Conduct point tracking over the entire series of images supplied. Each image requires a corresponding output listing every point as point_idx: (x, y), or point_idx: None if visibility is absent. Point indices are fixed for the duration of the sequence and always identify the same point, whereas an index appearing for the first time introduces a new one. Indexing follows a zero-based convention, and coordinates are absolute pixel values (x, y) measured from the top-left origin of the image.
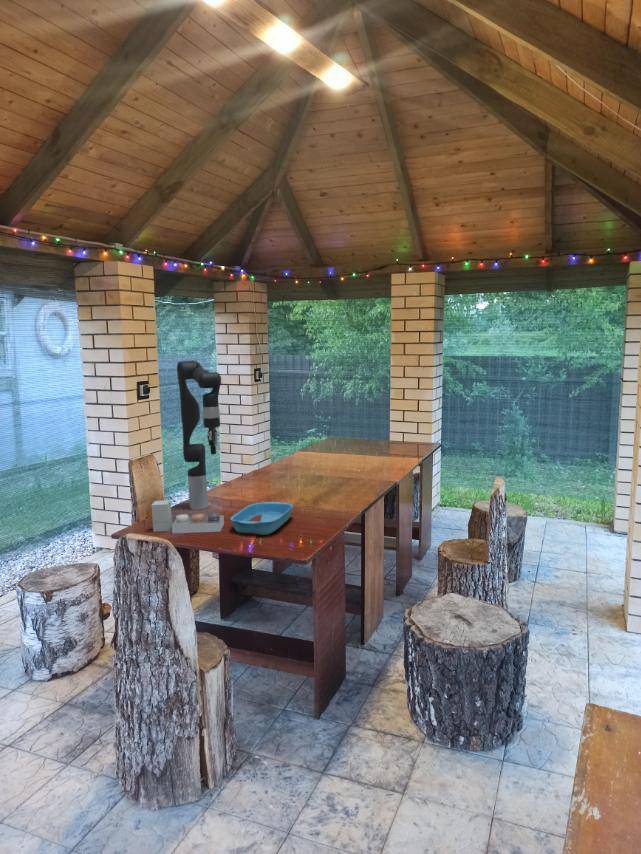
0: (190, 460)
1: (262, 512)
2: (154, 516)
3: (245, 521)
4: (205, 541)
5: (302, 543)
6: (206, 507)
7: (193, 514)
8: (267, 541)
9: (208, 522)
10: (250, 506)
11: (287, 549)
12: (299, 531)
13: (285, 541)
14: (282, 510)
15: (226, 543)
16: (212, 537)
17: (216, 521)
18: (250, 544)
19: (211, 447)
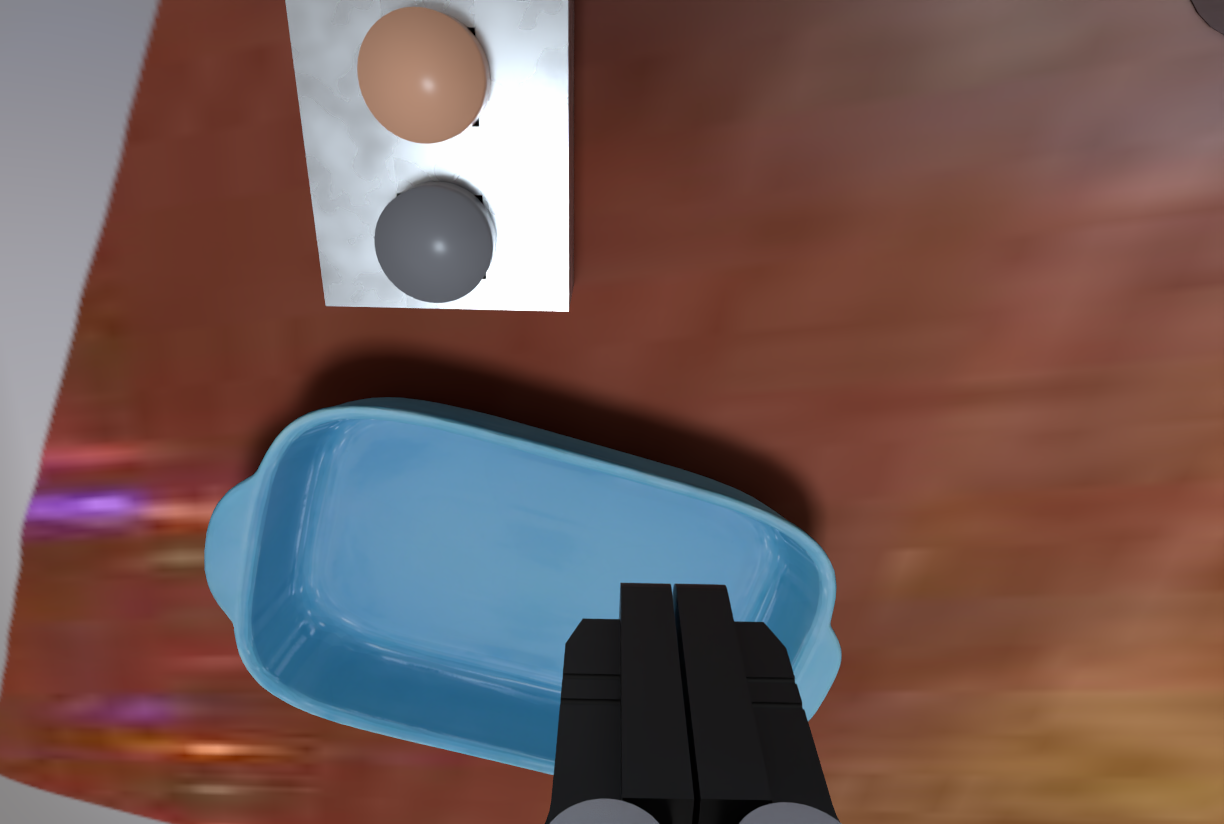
0: None
1: (782, 562)
2: None
3: (237, 529)
4: (162, 185)
5: (182, 755)
6: (1222, 31)
7: (446, 18)
8: (201, 594)
9: (333, 200)
10: (760, 521)
11: (72, 691)
12: (398, 745)
13: (209, 681)
14: None
15: (134, 351)
16: (264, 229)
17: (363, 272)
18: (132, 504)
19: (551, 807)
